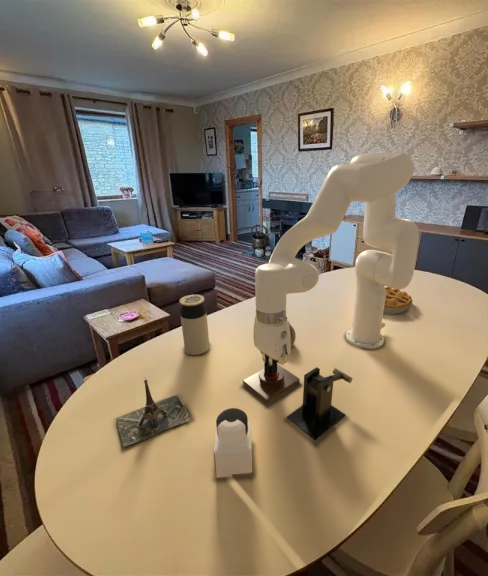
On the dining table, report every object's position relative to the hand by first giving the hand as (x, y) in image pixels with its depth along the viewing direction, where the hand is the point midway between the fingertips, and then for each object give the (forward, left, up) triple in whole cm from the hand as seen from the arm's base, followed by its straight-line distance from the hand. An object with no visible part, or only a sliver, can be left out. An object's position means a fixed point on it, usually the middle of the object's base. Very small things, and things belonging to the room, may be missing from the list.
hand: (270, 373), depth 83 cm
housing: (0, 0, -4) cm, 4 cm away
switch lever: (-4, +16, +4) cm, 17 cm away
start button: (0, 0, -2) cm, 2 cm away
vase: (-17, -12, -4) cm, 21 cm away
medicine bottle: (+21, +12, -4) cm, 24 cm away
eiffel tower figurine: (+29, -10, -4) cm, 31 cm away
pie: (-71, -6, -4) cm, 72 cm away
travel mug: (+6, -30, -4) cm, 31 cm away
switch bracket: (0, +16, -4) cm, 17 cm away
